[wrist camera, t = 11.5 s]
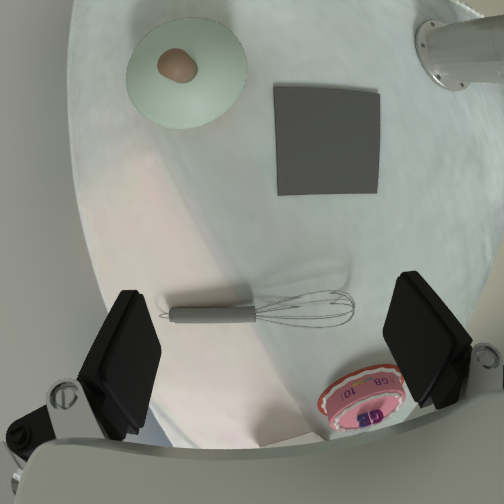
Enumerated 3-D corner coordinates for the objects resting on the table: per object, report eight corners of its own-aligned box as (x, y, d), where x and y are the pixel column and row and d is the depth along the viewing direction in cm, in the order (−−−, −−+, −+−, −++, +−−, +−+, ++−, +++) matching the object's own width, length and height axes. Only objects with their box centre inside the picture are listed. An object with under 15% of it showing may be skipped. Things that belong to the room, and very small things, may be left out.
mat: (378, 94, 32) (379, 94, 31) (375, 192, 39) (376, 193, 38) (273, 87, 32) (273, 87, 31) (278, 194, 39) (278, 195, 38)
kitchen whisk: (156, 297, 47) (147, 321, 41) (350, 280, 47) (363, 302, 41) (165, 324, 50) (158, 348, 44) (347, 307, 49) (357, 330, 44)
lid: (243, 13, 23) (244, -5, 18) (250, 122, 29) (252, 123, 24) (126, 33, 23) (107, 21, 18) (133, 137, 29) (113, 142, 24)
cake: (410, 351, 57) (427, 383, 48) (397, 400, 69) (407, 426, 59) (313, 380, 59) (322, 418, 50) (320, 423, 71) (326, 452, 61)
